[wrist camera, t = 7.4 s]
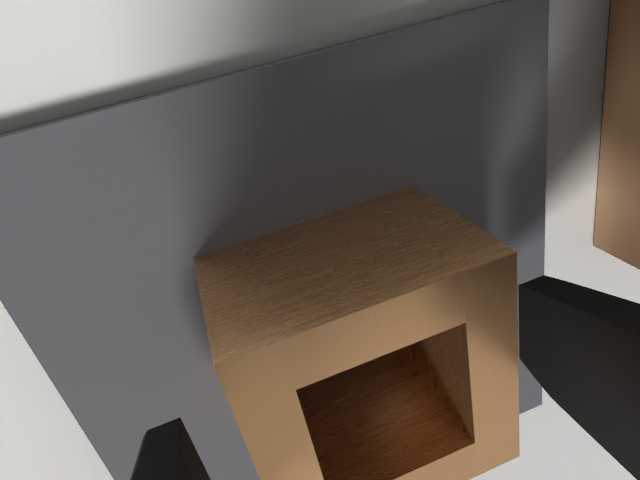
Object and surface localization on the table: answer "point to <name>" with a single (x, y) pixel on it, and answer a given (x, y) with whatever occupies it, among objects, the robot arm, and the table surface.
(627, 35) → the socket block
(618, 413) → the robot arm
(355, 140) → the mat
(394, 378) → the collar
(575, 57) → the table surface
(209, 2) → the table surface
